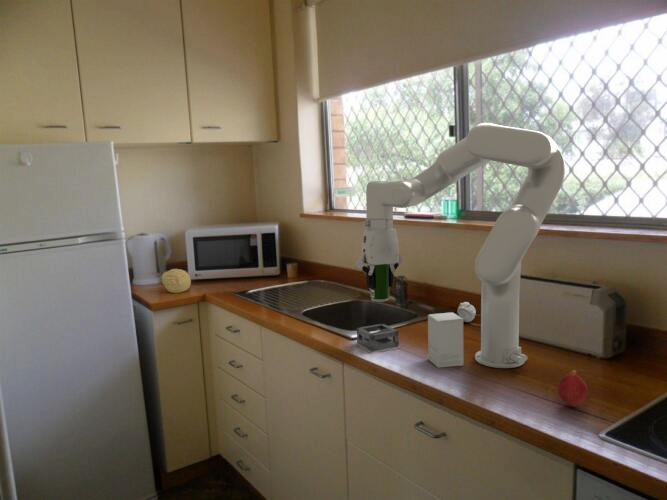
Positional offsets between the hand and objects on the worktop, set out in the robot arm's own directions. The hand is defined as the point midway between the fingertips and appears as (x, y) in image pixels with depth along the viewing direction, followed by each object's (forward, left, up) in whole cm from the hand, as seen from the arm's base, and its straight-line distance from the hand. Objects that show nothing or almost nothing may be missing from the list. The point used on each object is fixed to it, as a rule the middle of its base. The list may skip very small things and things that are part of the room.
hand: (379, 286), depth 154 cm
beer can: (0, 0, -4) cm, 4 cm away
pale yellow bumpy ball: (+116, +42, -18) cm, 125 cm away
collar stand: (+1, +1, -18) cm, 18 cm away
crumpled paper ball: (+8, -37, -18) cm, 42 cm away
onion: (-55, -15, -18) cm, 60 cm away
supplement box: (-20, -8, -18) cm, 28 cm away
